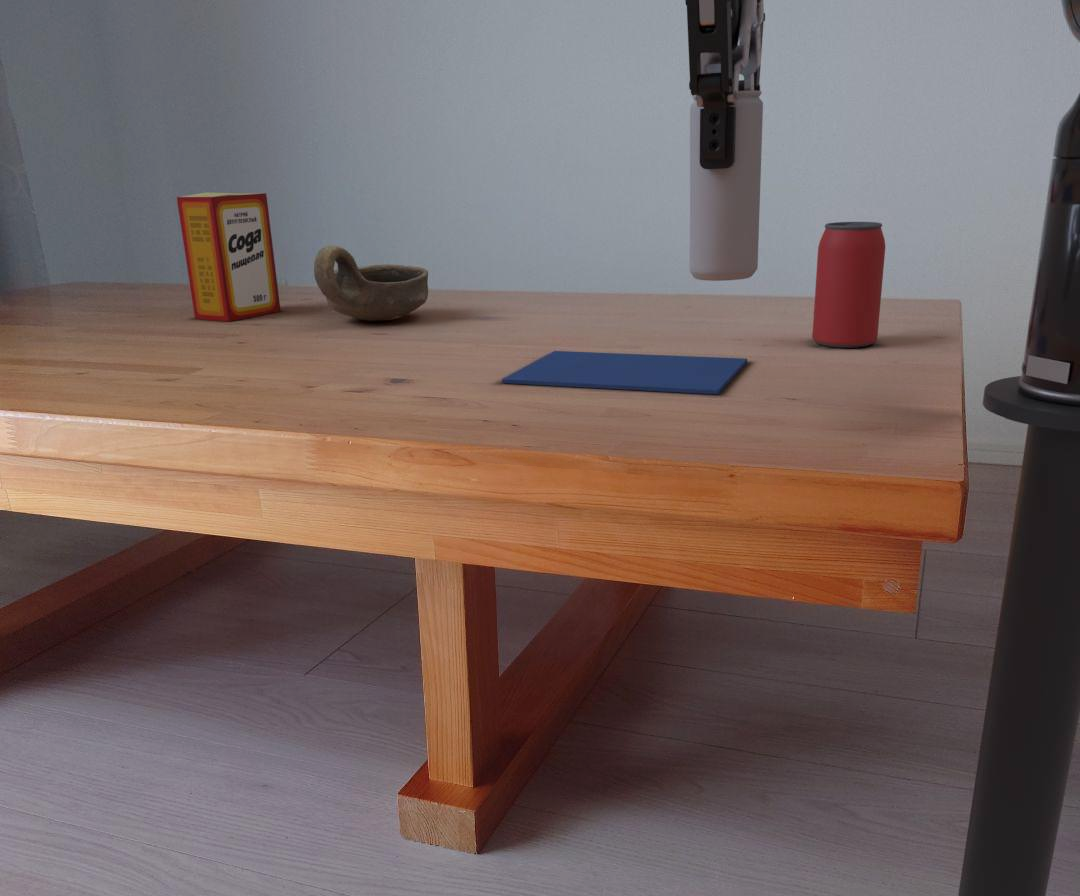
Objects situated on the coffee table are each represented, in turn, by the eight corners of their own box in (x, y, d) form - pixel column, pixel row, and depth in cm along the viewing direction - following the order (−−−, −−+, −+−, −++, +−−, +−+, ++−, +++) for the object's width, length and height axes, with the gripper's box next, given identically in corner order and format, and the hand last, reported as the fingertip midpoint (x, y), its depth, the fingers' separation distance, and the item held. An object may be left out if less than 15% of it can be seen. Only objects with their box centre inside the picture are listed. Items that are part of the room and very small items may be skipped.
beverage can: (770, 275, 71) (777, 90, 67) (730, 283, 68) (735, 90, 64) (715, 271, 75) (718, 95, 70) (674, 279, 72) (675, 95, 67)
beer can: (882, 339, 107) (893, 221, 103) (870, 350, 101) (881, 226, 97) (819, 336, 110) (827, 221, 105) (805, 347, 104) (812, 226, 100)
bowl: (454, 314, 133) (449, 235, 129) (367, 336, 119) (359, 248, 115) (373, 309, 140) (367, 234, 136) (283, 329, 126) (272, 246, 122)
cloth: (747, 362, 98) (747, 358, 98) (718, 394, 86) (718, 390, 86) (554, 354, 105) (554, 350, 105) (502, 383, 93) (501, 379, 93)
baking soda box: (247, 308, 144) (231, 190, 138) (280, 311, 141) (265, 190, 135) (195, 318, 137) (176, 194, 131) (228, 321, 133) (210, 193, 127)
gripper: (774, -162, 55) (763, 169, 61) (807, -108, 68) (795, 162, 74) (642, -142, 58) (644, 173, 64) (696, -94, 70) (694, 166, 76)
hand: (725, 166), depth 69 cm, fingers closed on beverage can, 5 cm apart
